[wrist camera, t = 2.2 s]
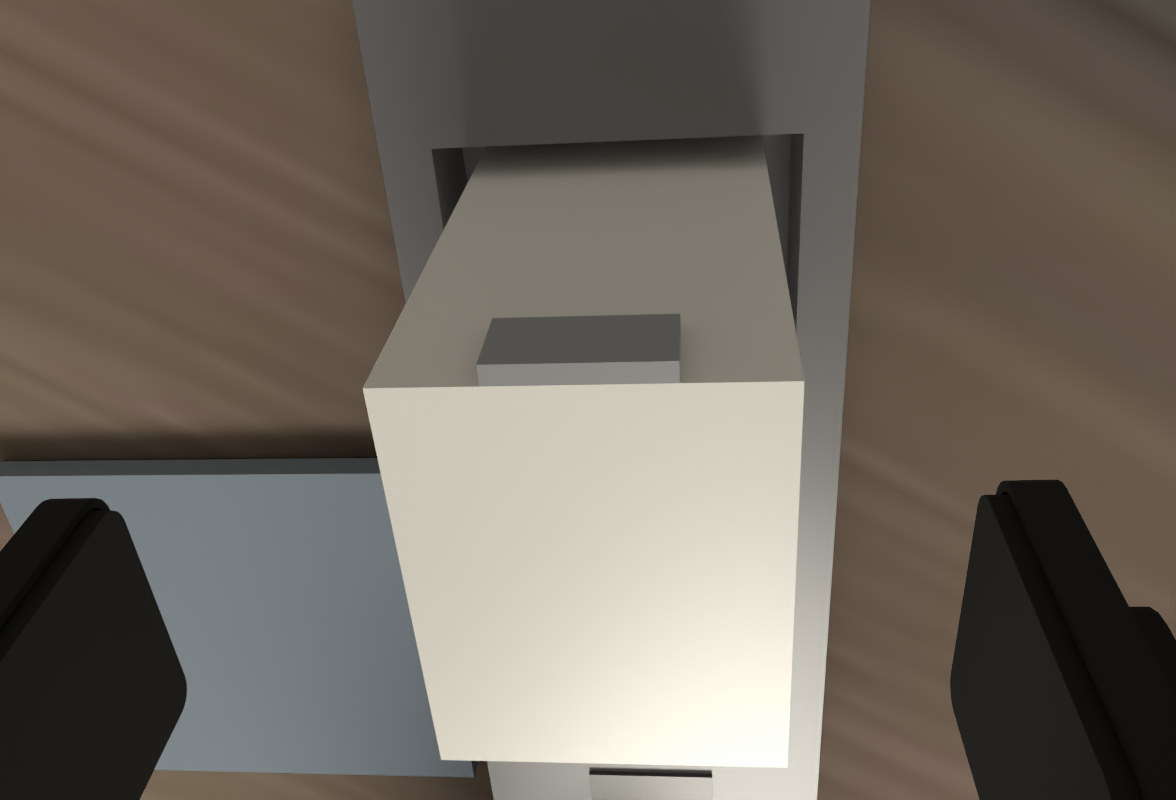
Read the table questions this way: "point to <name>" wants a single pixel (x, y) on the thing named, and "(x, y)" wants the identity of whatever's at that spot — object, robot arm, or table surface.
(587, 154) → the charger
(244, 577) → the mat
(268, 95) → the table surface
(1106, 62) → the table surface
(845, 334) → the power strip
